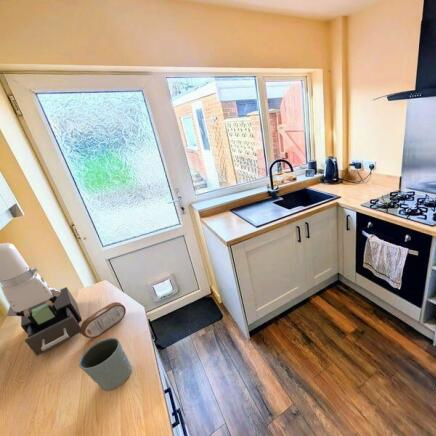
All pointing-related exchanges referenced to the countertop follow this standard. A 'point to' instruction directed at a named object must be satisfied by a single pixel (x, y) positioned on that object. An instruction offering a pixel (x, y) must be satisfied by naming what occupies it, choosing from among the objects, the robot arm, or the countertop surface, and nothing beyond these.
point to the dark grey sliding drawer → (52, 331)
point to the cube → (42, 313)
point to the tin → (102, 320)
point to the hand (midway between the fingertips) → (46, 317)
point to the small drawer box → (60, 303)
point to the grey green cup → (106, 364)
